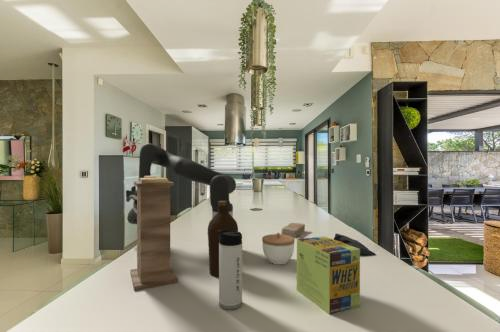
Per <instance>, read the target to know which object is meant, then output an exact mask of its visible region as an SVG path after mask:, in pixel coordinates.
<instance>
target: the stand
mask: <svg viewBox="0 0 500 332" xmlns="http://www.w3.org/2000/svg"><path fill="white" fill-rule="evenodd" d="M133 186H136V190H137V224H136V265H137V266H136V268H133V269H130V278H131V282H132V286H133V291H134V292H135V291H139V290H140V291H141V290H145V289H151V288H156V287H160V286H166V285H170V284H175V283H179V279H178V276H177V275H176V273H175V272H174V270H173V268H172V267H171V187H173V186H175V182H173V181H170V180H168V183H141V182H139V180H135V181H133Z"/></svg>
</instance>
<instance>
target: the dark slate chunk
mask: <svg viewBox="0 0 500 332" xmlns="http://www.w3.org/2000/svg"><path fill="white" fill-rule="evenodd" d="M333 239H334V240H336V241H339V242H342V243H345V244H347V245H350V246H353V247H356V248H359V249H360V256H371V255H372V256H376V255H377V254H376V253H375V252H374V251H371V250H370V249H369V248H368V247H366V246H365V245H364V244H363V243H361V242H360V241H358V240H357V239H353V238H351V237H349V236H346V235H343V234H341V233H335V235H334V238H333Z"/></svg>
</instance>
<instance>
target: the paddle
mask: <svg viewBox="0 0 500 332" xmlns="http://www.w3.org/2000/svg"><path fill="white" fill-rule="evenodd" d="M138 181H139V182H141V183H168V181H169V178H166V177H156V176H154V175H151V176H144V178H139V177H138Z"/></svg>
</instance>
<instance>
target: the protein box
mask: <svg viewBox="0 0 500 332" xmlns="http://www.w3.org/2000/svg"><path fill="white" fill-rule="evenodd" d="M360 285H361V255H360V249H359V248H356V247H353V246H350V245H347V244H345V243H342V242H339V241H336V240H334V238H331V237H328V236H314V237H305V238H303V237H302V238H297V239H296V291H298V292H299V293H300V294H302V295H303V296H304V297H305V298H307V299H308V300H310V301H311V302H312V303H314V304H315V305H317V306H318V307H319V308H320V309H321V310H323V311H325V313H327V314H328V315H332V314H336V313H339V312H344V311H347V310H352V309H354V308H355V309H356V308H359V307H361V291H360V290H361V286H360Z"/></svg>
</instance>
